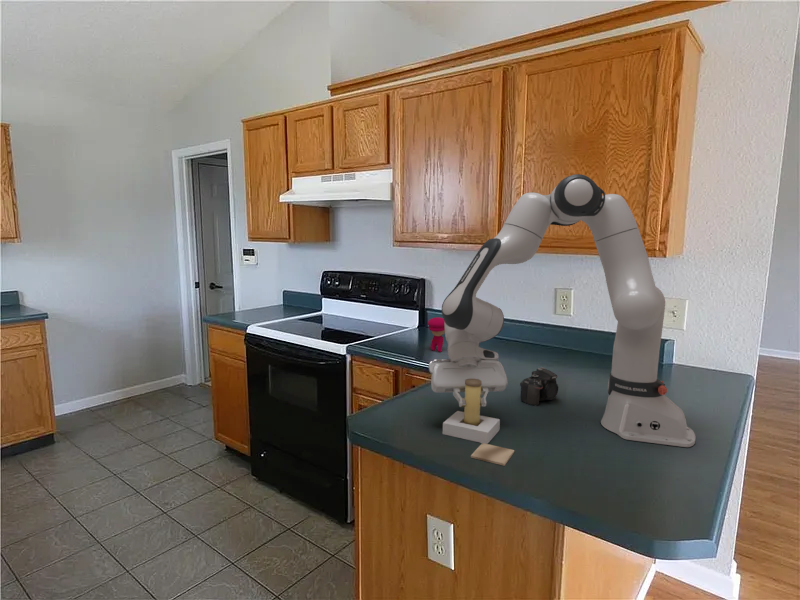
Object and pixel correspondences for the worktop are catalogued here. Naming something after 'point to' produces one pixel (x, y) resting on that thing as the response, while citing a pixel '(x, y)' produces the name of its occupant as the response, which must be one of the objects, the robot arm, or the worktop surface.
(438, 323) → the toy
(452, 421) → the socket block
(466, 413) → the plug
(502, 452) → the mat
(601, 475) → the worktop surface
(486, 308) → the robot arm
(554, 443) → the worktop surface
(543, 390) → the camera
